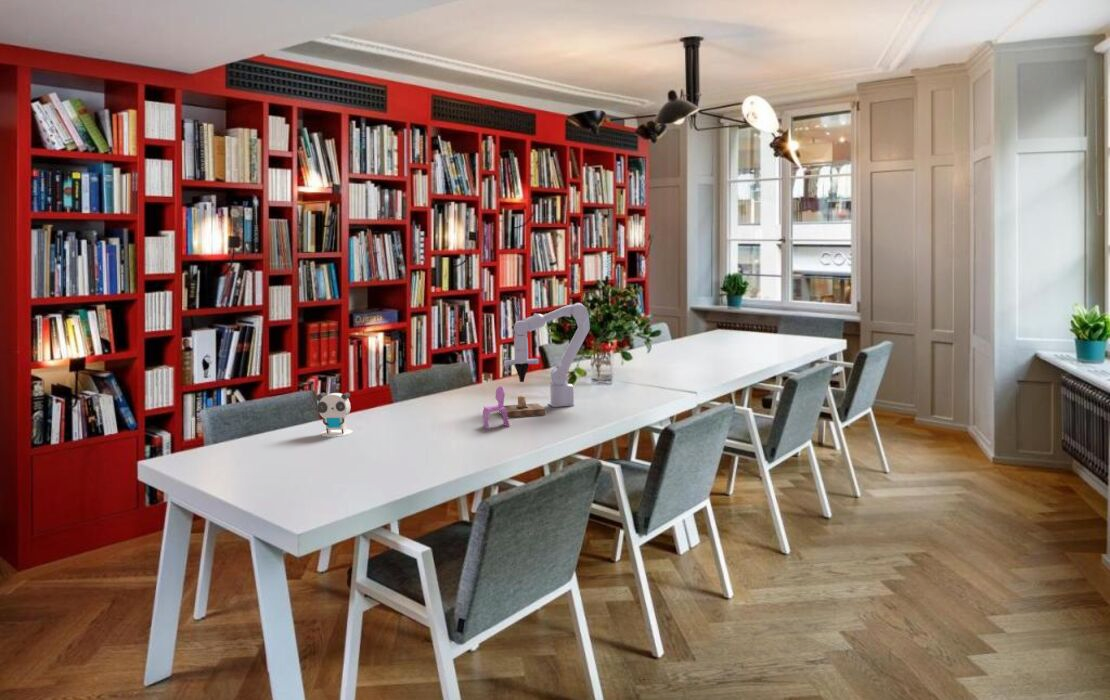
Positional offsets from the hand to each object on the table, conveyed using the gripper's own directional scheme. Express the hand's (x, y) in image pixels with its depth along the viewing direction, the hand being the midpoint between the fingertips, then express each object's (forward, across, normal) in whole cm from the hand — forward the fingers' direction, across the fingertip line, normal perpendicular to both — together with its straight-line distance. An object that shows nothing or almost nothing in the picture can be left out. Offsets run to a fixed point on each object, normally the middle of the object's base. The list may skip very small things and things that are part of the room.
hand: (521, 381), depth 343 cm
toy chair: (+11, +19, +34) cm, 40 cm away
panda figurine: (+11, +77, +24) cm, 81 cm away
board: (+10, +4, +15) cm, 19 cm away
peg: (+10, +4, +15) cm, 19 cm away
